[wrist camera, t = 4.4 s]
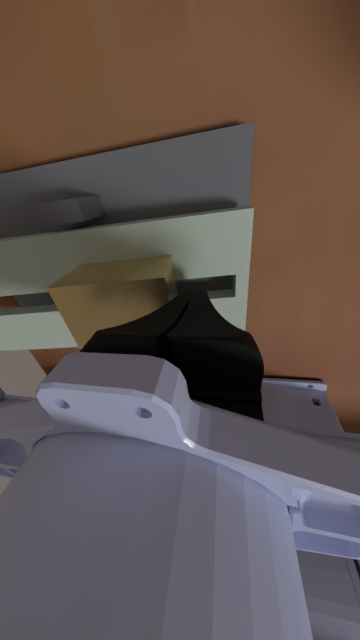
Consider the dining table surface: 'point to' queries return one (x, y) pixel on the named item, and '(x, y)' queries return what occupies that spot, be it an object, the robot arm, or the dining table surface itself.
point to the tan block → (112, 293)
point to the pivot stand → (131, 189)
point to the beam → (122, 244)
